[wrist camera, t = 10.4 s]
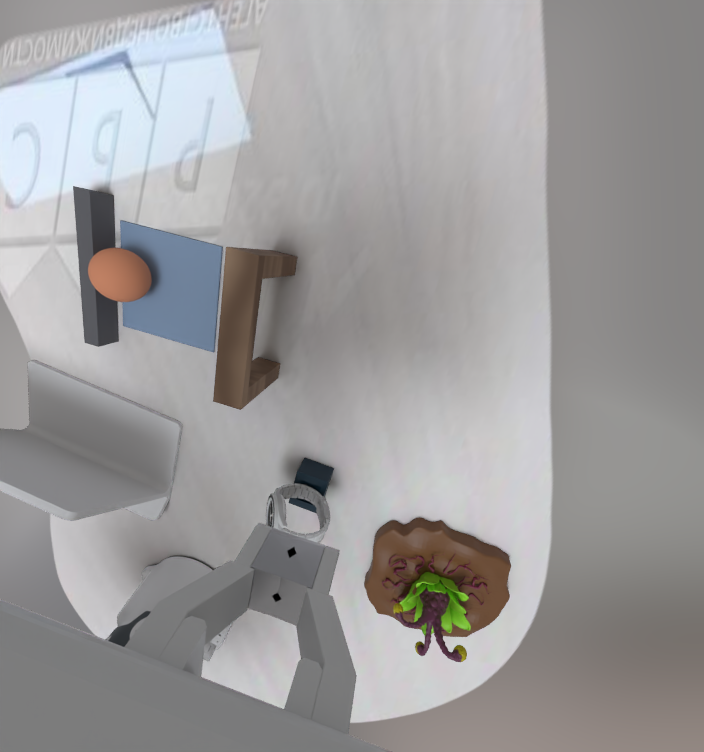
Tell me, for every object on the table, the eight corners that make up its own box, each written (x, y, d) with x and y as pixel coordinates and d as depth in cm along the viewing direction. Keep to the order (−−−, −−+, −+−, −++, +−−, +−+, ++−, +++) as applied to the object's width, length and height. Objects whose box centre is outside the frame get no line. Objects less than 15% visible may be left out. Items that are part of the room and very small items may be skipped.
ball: (110, 288, 41) (160, 299, 42) (78, 301, 36) (137, 313, 37) (105, 238, 39) (159, 251, 40) (70, 245, 33) (134, 259, 34)
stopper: (118, 341, 44) (98, 346, 42) (105, 337, 45) (84, 342, 42) (113, 195, 38) (89, 190, 35) (98, 191, 38) (73, 186, 35)
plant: (480, 635, 51) (497, 731, 41) (359, 598, 53) (345, 681, 43) (526, 540, 44) (560, 627, 33) (383, 502, 46) (374, 573, 36)
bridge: (297, 256, 36) (259, 255, 27) (278, 377, 42) (240, 409, 33) (272, 250, 37) (226, 247, 28) (256, 371, 42) (213, 401, 33)
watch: (291, 452, 45) (255, 508, 35) (346, 472, 45) (325, 534, 35) (283, 483, 47) (247, 544, 37) (335, 503, 47) (313, 570, 37)
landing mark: (214, 351, 42) (213, 352, 42) (124, 325, 43) (123, 325, 43) (222, 246, 38) (221, 246, 37) (121, 220, 39) (120, 220, 39)
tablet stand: (33, 357, 48) (-152, 404, 33) (184, 421, 47) (69, 502, 32) (36, 452, 55) (-116, 529, 39) (168, 510, 54) (67, 614, 38)
